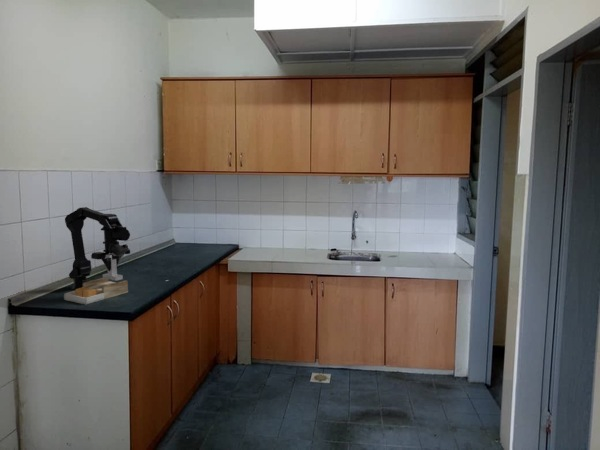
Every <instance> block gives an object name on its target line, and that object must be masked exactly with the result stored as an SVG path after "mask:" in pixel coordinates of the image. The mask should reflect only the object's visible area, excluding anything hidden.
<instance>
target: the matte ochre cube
mask: <svg viewBox="0 0 600 450" xmlns="http://www.w3.org/2000/svg"><path fill="white" fill-rule="evenodd" d="M87 289H89V288H84V287H82V288H78V289H76V290H75V291H76V296H80V297H83V290H87Z"/></svg>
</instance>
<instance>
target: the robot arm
mask: <svg viewBox="0 0 600 450" xmlns="http://www.w3.org/2000/svg"><path fill="white" fill-rule="evenodd" d="M87 218H88V219H91V220H94V221H97V222H98V224H99V225H101V226H103V227H101V228H100V231H103V236H104V238H103V239H104V241H102V244H103V245H104V249H103V250H102V252H101V251H96V252H92V253H91V255H90V256H91V259H93V260H101V261H102V262H103V263H104V265H105V267H106V268H107V269H106V270H107V272H108V271H110V268H111V267H110V260H111V259H112V258H113V259H116V263H117V266H118V264H119V262H120V259H121V258H123V257H124V255H130V254H131V249H130V248H129V245H128V244H127V243H126V244H125V243H124V244H121V245H120V242H119V241H122V242H123V241H124V242H126V241H127V242H128V241H129V239H130V237H131V233H130V231H129V230H128V229H127V226H123V224H122V223H121V221H120V219H119V218H118V215H117V214H114V213H104V212H100V211H98V210H95V209H91V208H89V207H87V206H85V207H79V208H77V209H76V210H74V211H72V212H71V213H69V214H67V215H66V216H65V217H64V223H65V226H66V228H67V229H68V230H69V232H70V235H71V242H72V249H73V254H74V260H73V263H72V270H70V272H69V273H68V276H69V279H72V280H73V287H71V288H70V289H71V290H74V291H76V289H78V288H82V287H83V283H84V282H88V280H87V277H88V276H91V271H92V268H93V266H92V262H91V260H90V259H89V260H88V258H87V257H86V253H85V250H86V249H85V245H84V240H83V238H84V237H83V233H82V230H83V227H84V226H85V223H84V222H85V220H86V219H87ZM110 256H111V257H110Z"/></svg>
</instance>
